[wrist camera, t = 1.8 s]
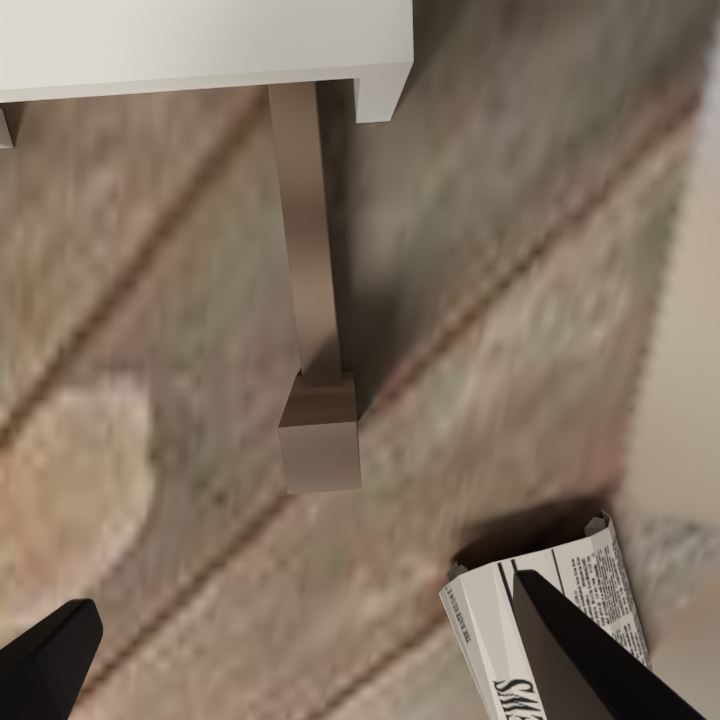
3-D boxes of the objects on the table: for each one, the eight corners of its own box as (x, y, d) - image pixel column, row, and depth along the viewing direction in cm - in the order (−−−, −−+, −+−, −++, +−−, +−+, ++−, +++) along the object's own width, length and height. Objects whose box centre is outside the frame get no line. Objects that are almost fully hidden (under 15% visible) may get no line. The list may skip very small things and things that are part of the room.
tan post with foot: (357, 422, 22) (361, 488, 17) (222, 433, 22) (179, 503, 16) (320, -42, 16) (306, -193, 10) (133, -30, 16) (16, -175, 10)
